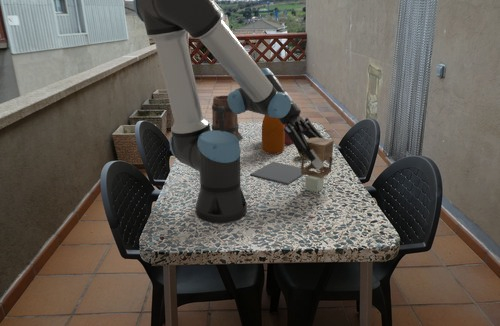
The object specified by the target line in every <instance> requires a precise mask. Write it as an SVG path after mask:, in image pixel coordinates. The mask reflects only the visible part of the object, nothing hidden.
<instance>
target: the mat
mask: <svg viewBox="0 0 500 326" xmlns="http://www.w3.org/2000/svg"><path fill="white" fill-rule="evenodd" d="M303 175H305V174H301V167H300V166H295V165H289V164H285V163H280V162H277V161H276V162H275V161H271V162H270V163H268V164H266V165H264V166H262V167H260V168H259V169H257V170H255V171H253V172H251V173H250V176H252V177H256V178H260V179H264V180H268V181H272V182H277V183H281V184H284V185H287V186H289V185H291V183H293V182H294V181H296V180H298V179H299V178H301V177H302V176H303Z"/></svg>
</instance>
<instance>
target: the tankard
mask: <svg viewBox="0 0 500 326" xmlns="http://www.w3.org/2000/svg"><path fill="white" fill-rule="evenodd" d="M227 97H228V95H218V96H217V95H216V96H213V100H212V105H211V110H212V111H211V112H212V113H211V114H212V117H211V118H212V119H211V121H212V124H211V131H215V130H216V131H221V132H224V131H225V132H229V133H231V134H233V135H235V136H236V137H237V138H238V140H239V142H240V141H242V140H243V139H244V137H243V136H242V134H241V133H240V132H239V128H240V126H239V120H238V114H235V113H234V112H233V111H232V110H231V109H230V107H229V105H228V101H227Z"/></svg>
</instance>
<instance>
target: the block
mask: <svg viewBox="0 0 500 326" xmlns="http://www.w3.org/2000/svg"><path fill="white" fill-rule="evenodd" d="M324 178H325V176H324V177H323V178H318V177H314V176H309V175H306V176H305V181H304V182H305V183H304V185H305V186H304V190H305V189H306V190H305V191H310V192H313V191H314V193H319V192H320V191H321V190H323V188H324ZM318 191H319V192H318Z"/></svg>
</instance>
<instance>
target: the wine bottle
mask: <svg viewBox="0 0 500 326" xmlns="http://www.w3.org/2000/svg"><path fill="white" fill-rule="evenodd" d="M284 128H285V125H283V124H282V123H281V122H280V120H279V119H278V118H275V117H273V118H272V117H270V116H267V115H264V117H263V119H262V123H261V149H262V151H263V152H264V153H265V154H269V155H275V154H280V153H283V152H284V150H285V145H284V141H285V131H284Z"/></svg>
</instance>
